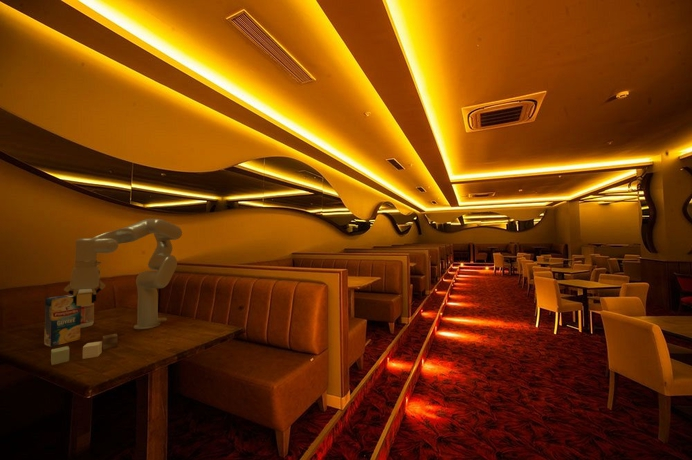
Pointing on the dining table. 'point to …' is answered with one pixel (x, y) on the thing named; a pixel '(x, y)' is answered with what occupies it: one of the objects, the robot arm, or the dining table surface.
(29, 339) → the dining table surface
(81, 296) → the ochre cube
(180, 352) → the dining table surface
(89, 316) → the fruit juice
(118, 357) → the dining table surface
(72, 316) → the blue cardboard box
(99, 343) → the cream cube
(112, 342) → the walnut cube
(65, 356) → the sage cube
